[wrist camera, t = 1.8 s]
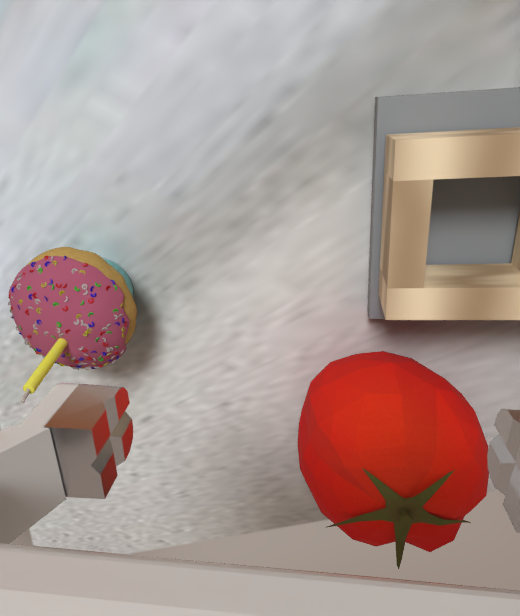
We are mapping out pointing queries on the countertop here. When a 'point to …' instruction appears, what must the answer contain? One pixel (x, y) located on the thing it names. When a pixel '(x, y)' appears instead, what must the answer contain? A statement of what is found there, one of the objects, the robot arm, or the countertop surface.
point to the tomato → (391, 451)
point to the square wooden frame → (416, 218)
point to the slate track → (450, 181)
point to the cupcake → (72, 310)
